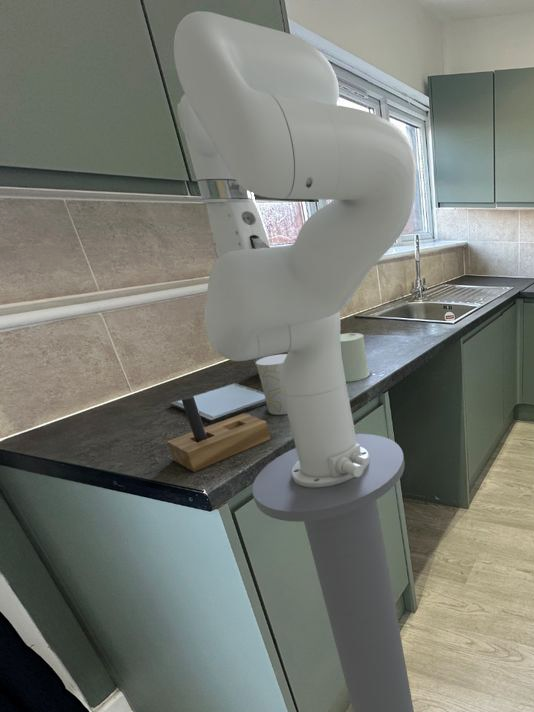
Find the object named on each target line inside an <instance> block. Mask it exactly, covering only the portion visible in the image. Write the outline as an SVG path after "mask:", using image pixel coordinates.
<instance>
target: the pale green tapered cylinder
mask: <svg viewBox="0 0 534 712" xmlns="http://www.w3.org/2000/svg"><path fill="white" fill-rule="evenodd" d="M364 337H365V336H364V334H363V333H360V332H347V333H340V344H341V355H342V362H343V369H344V374H345V380H346V383H351V382H358V381H361V380H365V379H366V378H368V377H369V376H370V375H371V373H370V369H369V364H368V363H369V362H368V358H367V351H366V345H365V338H364Z"/></svg>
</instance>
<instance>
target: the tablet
mask: <svg viewBox="0 0 534 712" xmlns="http://www.w3.org/2000/svg"><path fill="white" fill-rule="evenodd" d="M192 396H193V397H194V399H195V402H196V405H197V408H198V411H199V414H200V417H201V420H203V421H206V422H208V423H210V424H215V423H218V422H221V421H224V420H226V419H229V418H232V417H235V416H237V415H240V414H243V413H246V412H247V411H250V410H253V409H256V408H259V407H261V406H264V405H267V403H266V399H265V395H264V391H261V390H258V389H255V388H251V387H248V386H245V385H243V384H242V385H241V384H239V383H236V382H233V383H230V384H227V385H224V386H220V387H218V388H214V389H211V390H208V391H204V392H202V393H199V394H195V395H192ZM170 405H171V407H174V408H176V409H178V410H181V411H182V412H185V409H184V406H183V403H182V400H181V399H178V400H175V401H171V402H170Z"/></svg>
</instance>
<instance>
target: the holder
mask: <svg viewBox="0 0 534 712" xmlns="http://www.w3.org/2000/svg"><path fill="white" fill-rule="evenodd" d="M204 429H205V432H206V435H207V438H208V439H205V440H203V441H200V442H196V441H195V438H194V435H193V432H192V431H191V432H189V433H188V432H187V433H186V434H183V435H180V436H177V437H175V438H172V439H170V440H167V441H166V443H167V446H168V448H169V451H170V454H171V457H172V460H173V461H175V462H176V463H177V464H179V465H182V466H183V467H185V468H186V469H188V470H190V471H192V472H193V473H196V472H198V471H201V470H203V469H205V468H207V467H210V466H212V465H214V464H216V463H218V462H221V461H223V460H225V459H227V458H231V457H232V456H235V455H237V454H239V453H242V452H244V451H246V450H249V449H251V448H253V447H255V446H257V445H260V444H262V443H264V442H267V441H269V440H271V435H270V430H269V427H268V423H267V421H266V420H263V419H261V418H259V417H256V416H253V415H251V414H248V413H246V412H242V413H239V414H237V415H234V416H231V417H229V418H226V419H223V420H220V421H218V422H215V423H212V424H211V425H208V426H204Z"/></svg>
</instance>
